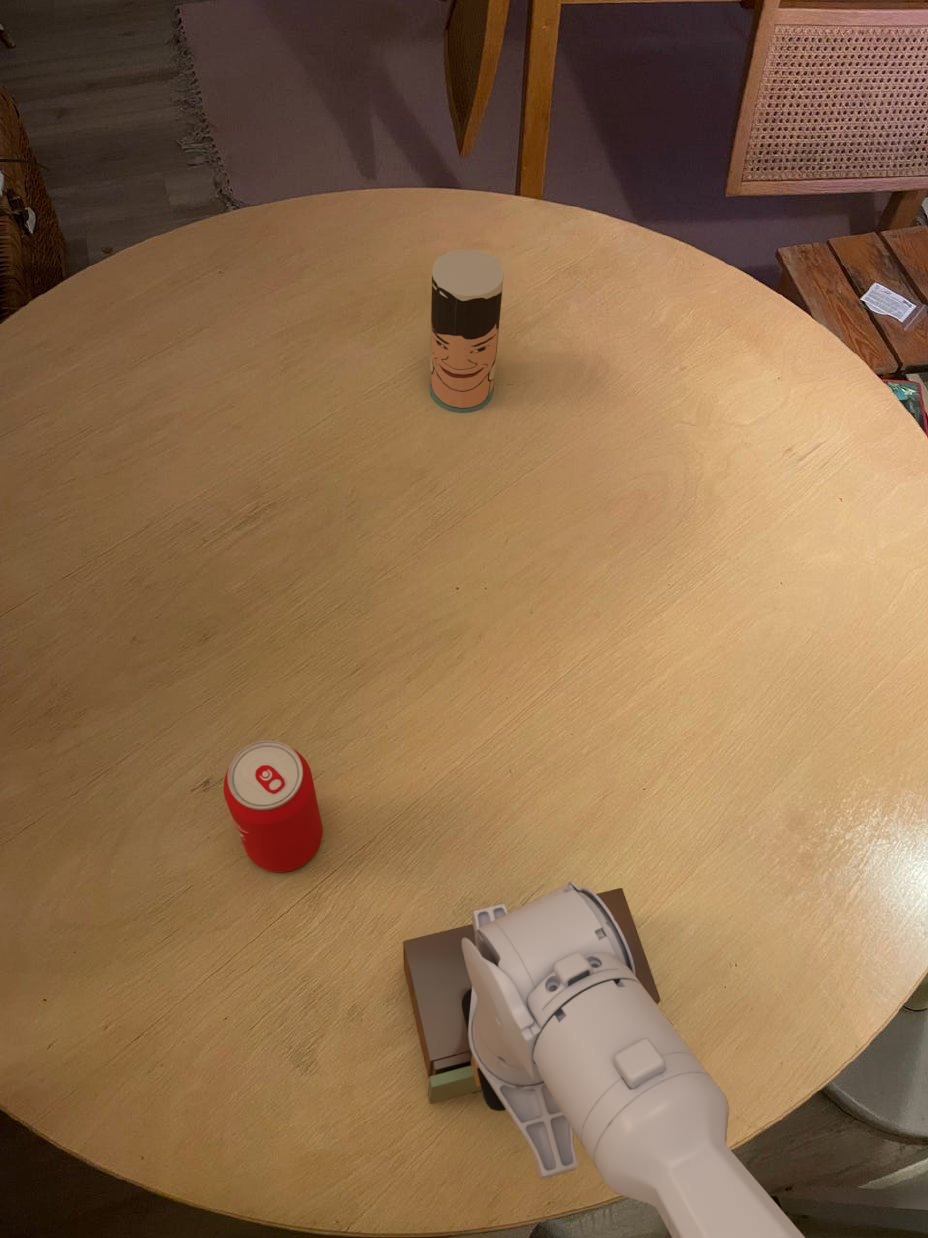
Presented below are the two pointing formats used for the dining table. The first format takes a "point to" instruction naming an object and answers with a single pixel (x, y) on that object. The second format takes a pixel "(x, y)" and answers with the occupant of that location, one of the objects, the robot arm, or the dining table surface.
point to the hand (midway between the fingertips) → (510, 1062)
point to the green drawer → (454, 1083)
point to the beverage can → (274, 805)
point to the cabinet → (445, 981)
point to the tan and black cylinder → (464, 329)
